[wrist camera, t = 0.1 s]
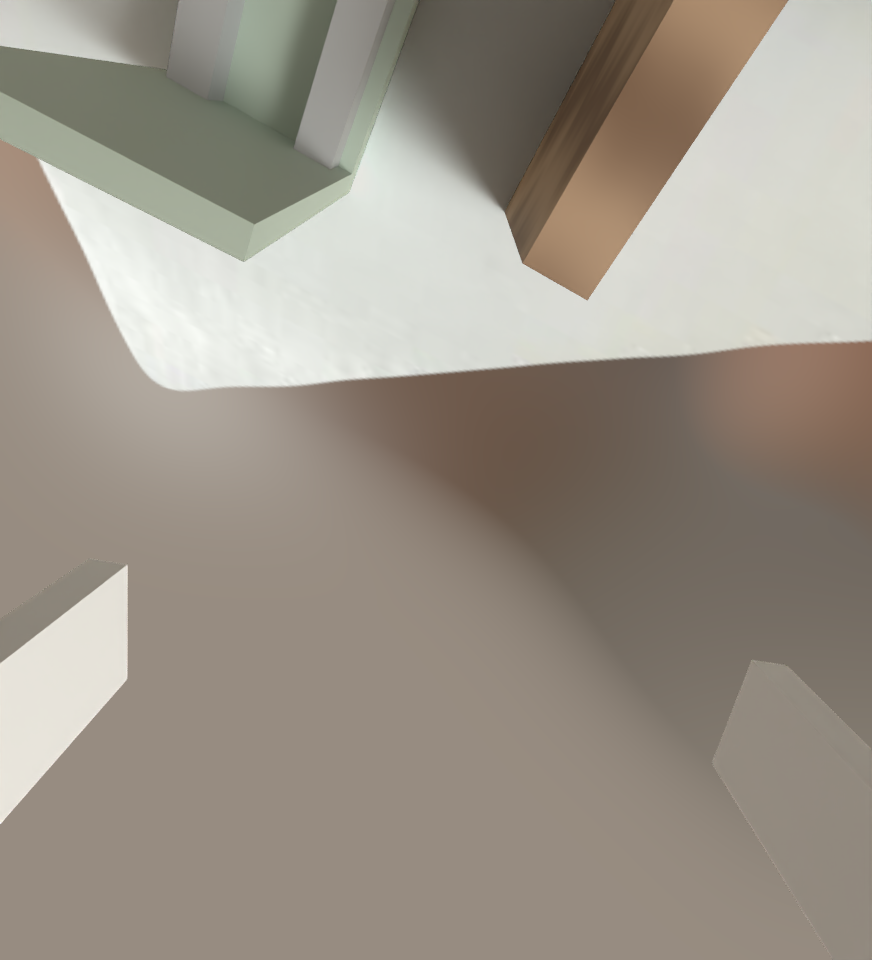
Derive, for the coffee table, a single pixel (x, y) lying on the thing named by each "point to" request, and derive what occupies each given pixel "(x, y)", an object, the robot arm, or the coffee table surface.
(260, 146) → the cabinet frame
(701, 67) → the door panel
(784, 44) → the coffee table surface
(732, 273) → the coffee table surface
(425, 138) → the coffee table surface
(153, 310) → the coffee table surface
